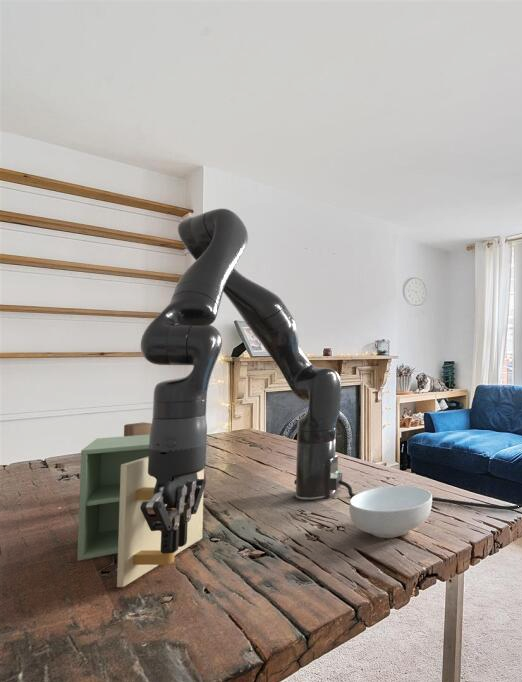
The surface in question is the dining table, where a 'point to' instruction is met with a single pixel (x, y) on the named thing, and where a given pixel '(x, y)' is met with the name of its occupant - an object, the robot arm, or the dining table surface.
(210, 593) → the dining table surface
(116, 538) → the cupboard
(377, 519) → the cereal bowl
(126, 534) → the cupboard door
